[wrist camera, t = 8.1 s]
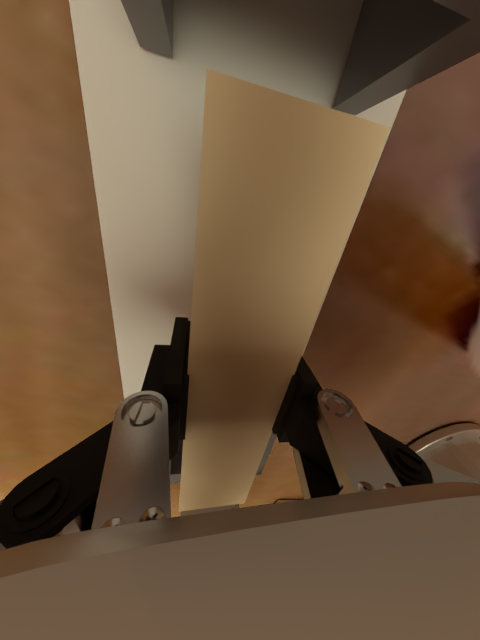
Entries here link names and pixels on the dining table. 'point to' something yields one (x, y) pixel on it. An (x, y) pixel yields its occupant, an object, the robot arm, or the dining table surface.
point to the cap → (364, 43)
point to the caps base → (185, 138)
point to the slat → (261, 267)
